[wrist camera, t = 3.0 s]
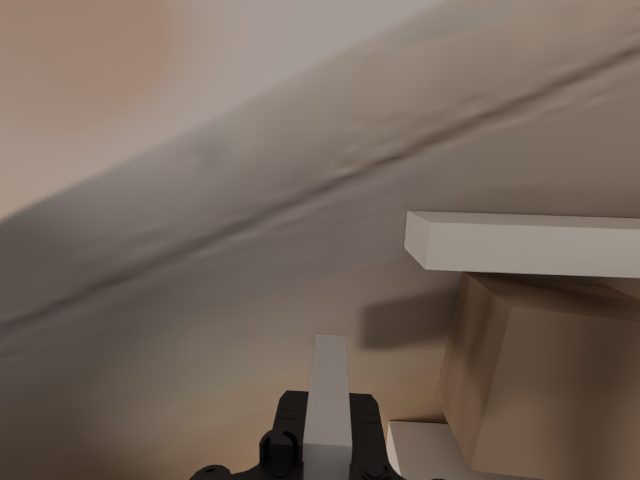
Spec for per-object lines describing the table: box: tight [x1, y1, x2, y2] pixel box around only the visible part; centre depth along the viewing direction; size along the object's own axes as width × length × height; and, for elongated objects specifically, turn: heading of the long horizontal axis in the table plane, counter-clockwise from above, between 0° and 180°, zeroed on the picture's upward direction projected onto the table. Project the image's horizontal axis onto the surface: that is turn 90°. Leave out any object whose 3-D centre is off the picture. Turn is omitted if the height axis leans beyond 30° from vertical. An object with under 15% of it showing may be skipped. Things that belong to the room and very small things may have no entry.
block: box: [436, 271, 640, 480], centre depth 16 cm, size 8×8×5 cm
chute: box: [386, 211, 640, 480], centre depth 15 cm, size 14×15×6 cm
